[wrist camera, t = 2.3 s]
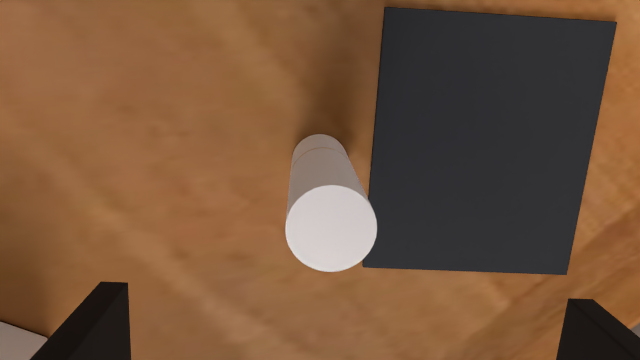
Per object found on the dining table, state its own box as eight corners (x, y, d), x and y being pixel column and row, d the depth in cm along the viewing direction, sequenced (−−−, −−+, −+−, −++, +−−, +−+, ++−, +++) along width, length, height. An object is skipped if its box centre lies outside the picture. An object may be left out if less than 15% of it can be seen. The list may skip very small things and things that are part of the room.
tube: (296, 129, 36) (293, 177, 22) (352, 139, 36) (386, 193, 22) (287, 183, 37) (278, 264, 23) (341, 192, 37) (366, 278, 23)
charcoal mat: (384, 7, 34) (385, 6, 34) (613, 22, 35) (617, 21, 35) (362, 265, 39) (363, 267, 39) (564, 273, 40) (566, 275, 40)
